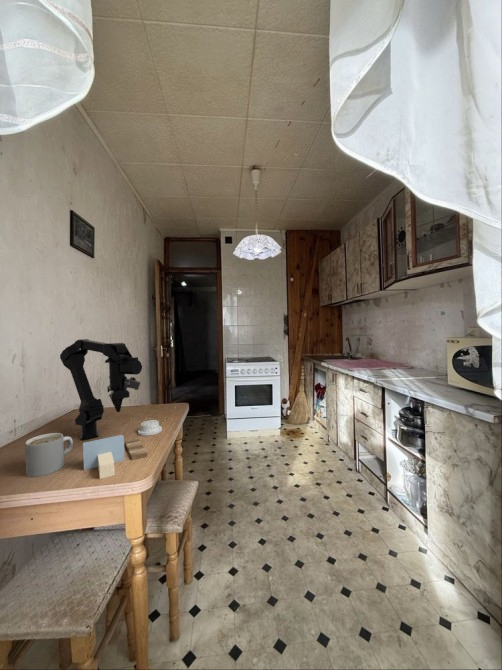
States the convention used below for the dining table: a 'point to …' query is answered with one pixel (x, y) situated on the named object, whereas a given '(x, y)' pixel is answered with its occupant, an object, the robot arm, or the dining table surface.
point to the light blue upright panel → (103, 454)
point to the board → (135, 449)
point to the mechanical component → (149, 428)
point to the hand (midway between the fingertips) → (118, 411)
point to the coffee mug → (46, 454)
